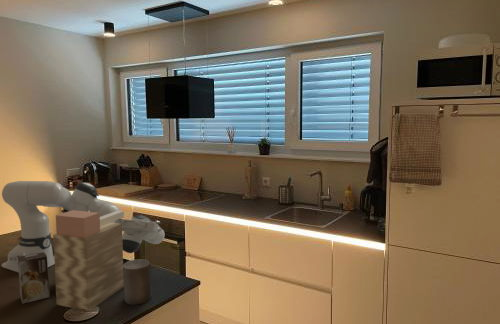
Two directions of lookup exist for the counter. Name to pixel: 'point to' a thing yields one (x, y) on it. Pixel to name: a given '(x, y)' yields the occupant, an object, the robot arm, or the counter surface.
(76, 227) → the handled block
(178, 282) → the counter surface
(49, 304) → the counter surface
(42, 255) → the coffee box
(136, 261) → the pillar candle
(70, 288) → the oak pedestal
